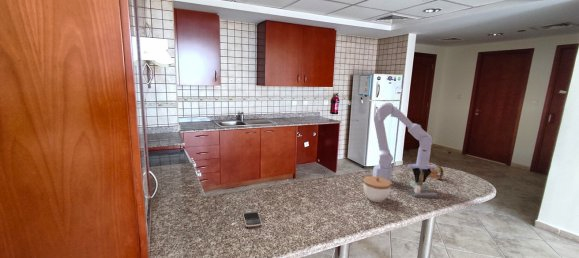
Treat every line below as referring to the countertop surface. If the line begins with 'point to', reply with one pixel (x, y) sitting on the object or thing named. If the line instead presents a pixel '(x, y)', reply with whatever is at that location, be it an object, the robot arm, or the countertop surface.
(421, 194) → the switch panel
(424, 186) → the holder
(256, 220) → the cell phone
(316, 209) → the countertop surface
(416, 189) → the switch tab
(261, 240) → the countertop surface
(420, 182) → the tan rounded cylinder
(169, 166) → the countertop surface
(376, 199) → the lidded bowl
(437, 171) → the tin
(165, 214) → the countertop surface
